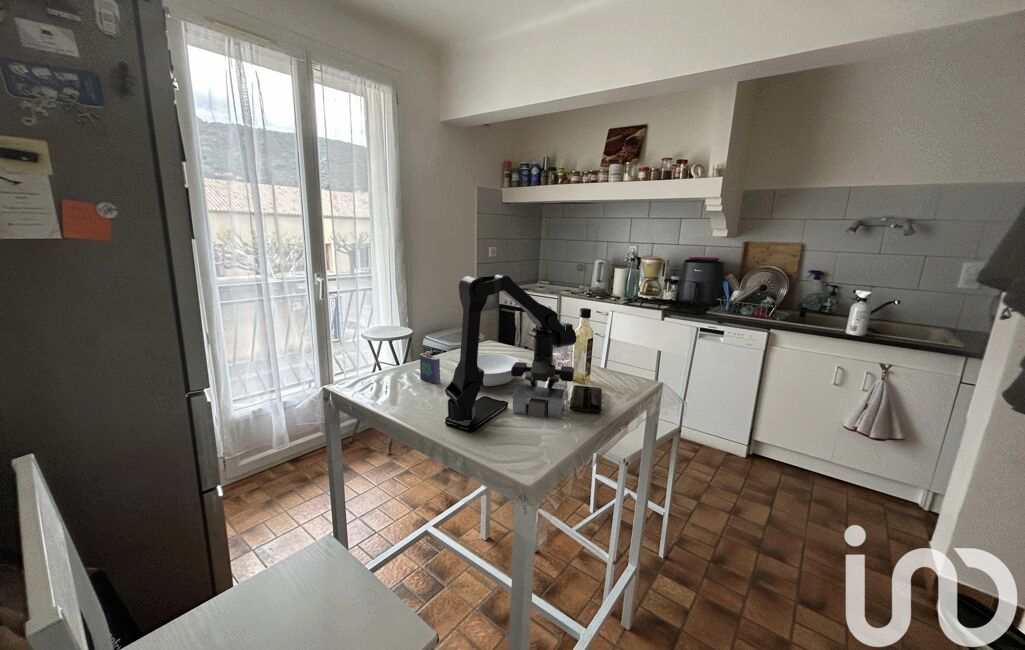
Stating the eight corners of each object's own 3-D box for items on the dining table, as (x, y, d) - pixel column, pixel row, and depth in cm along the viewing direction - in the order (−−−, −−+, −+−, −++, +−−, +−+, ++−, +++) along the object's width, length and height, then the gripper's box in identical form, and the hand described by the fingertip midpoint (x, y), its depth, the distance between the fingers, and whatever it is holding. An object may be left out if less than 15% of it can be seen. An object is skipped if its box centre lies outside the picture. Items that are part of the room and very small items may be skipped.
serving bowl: (521, 371, 150) (522, 354, 148) (516, 395, 130) (517, 374, 128) (466, 369, 152) (466, 351, 150) (452, 391, 132) (452, 371, 130)
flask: (442, 382, 138) (441, 353, 136) (435, 385, 136) (434, 355, 133) (424, 376, 144) (423, 347, 141) (417, 378, 142) (416, 349, 139)
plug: (528, 416, 115) (528, 402, 114) (535, 396, 129) (536, 384, 128) (544, 418, 115) (544, 404, 113) (550, 397, 128) (550, 385, 127)
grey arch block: (512, 412, 117) (513, 394, 116) (517, 402, 124) (517, 384, 122) (561, 418, 114) (562, 399, 113) (563, 407, 121) (564, 389, 120)
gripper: (507, 355, 116) (506, 405, 120) (573, 360, 112) (570, 412, 116) (515, 344, 126) (514, 390, 130) (575, 348, 123) (572, 396, 127)
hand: (541, 397), depth 126 cm, fingers closed on plug, 3 cm apart
